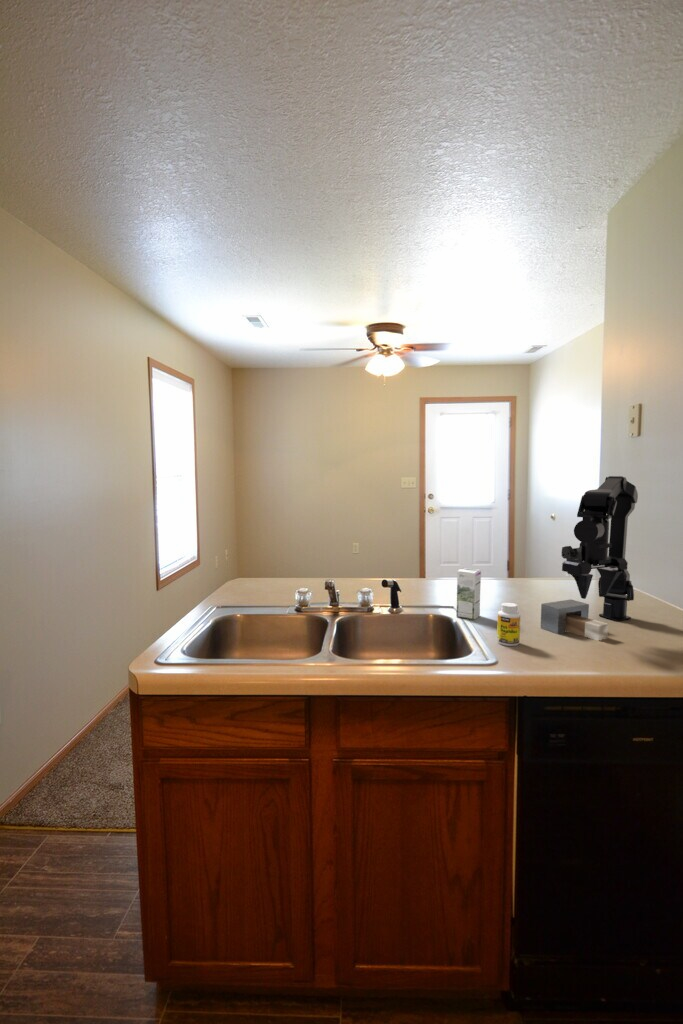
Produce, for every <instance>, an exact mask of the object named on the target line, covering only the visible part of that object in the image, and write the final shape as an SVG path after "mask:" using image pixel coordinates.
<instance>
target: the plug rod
mask: <svg viewBox="0 0 683 1024" xmlns="http://www.w3.org/2000/svg"><path fill="white" fill-rule="evenodd" d="M565 632H569V633H572V634H575V635H578V636H581V637H585V638H587V637H588V639H591V640H595V641H597V640H600V641H603V640H602V639H604V640H607V639H608V633H609V623H606V622H602V621H599V620H596V619H591V618H589V617H588V618H585V617H581V616H577V615H573V614H570V613H566V631H565Z"/></svg>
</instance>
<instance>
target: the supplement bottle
mask: <svg viewBox="0 0 683 1024" xmlns="http://www.w3.org/2000/svg"><path fill="white" fill-rule="evenodd" d="M500 609H501V610H498V612H497V627H496V629H497V630H496V631H497V632H496V641H497V643H498V644H499V645H502V646H506V647H515V646H518V645H519V644H520V634H521V613H520V612H519V611H518V604H517V603H513V602H502V603H501V608H500Z"/></svg>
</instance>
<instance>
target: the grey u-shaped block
mask: <svg viewBox="0 0 683 1024" xmlns="http://www.w3.org/2000/svg"><path fill="white" fill-rule="evenodd" d="M540 606H541V607H540V629H542V628H543V629H542V630H545V631H548V632H551V633H554V634H556V633H557V635H558V634H564V633H566V632H567V631H566V613H570V614H573V615H577V616H581V617H585V618H588V619H589V608H590V604H589V603H586V602H581V601H578V600H575V599H564V600H559V601H558V600H557V601H551V602H545V603H544V602H543V603H541V604H540Z"/></svg>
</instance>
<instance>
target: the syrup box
mask: <svg viewBox="0 0 683 1024" xmlns="http://www.w3.org/2000/svg"><path fill="white" fill-rule="evenodd" d="M456 574H457V575H456V577H457V578H456V579H457V580H456V618H460V619H461V618H462V619H466V618H467V619H468V620H472V621H473V620H476V619H477V618H479V617H480V616H481V615H480V614H481V583H482V582H481V580H482V569H477V568H468V567H467V568H465V567H462V568H460V569H458V570H457V573H456ZM478 616H479V617H478ZM467 619H466V620H467Z"/></svg>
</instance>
